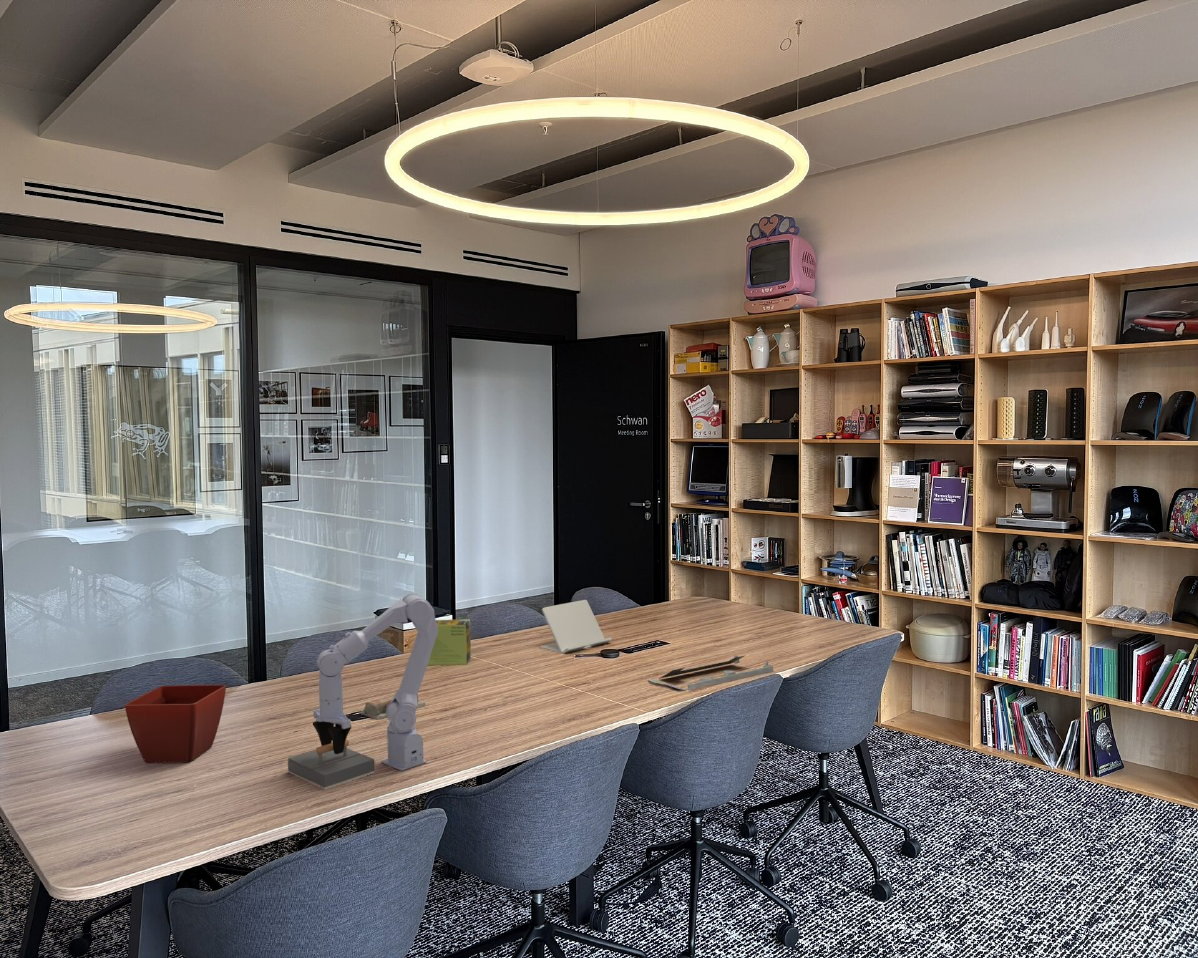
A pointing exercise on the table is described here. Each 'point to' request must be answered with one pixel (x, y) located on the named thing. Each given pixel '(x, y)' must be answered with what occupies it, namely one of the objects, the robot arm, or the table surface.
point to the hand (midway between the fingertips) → (332, 750)
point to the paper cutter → (726, 678)
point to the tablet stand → (573, 627)
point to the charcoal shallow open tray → (335, 771)
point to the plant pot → (176, 721)
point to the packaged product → (381, 707)
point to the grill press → (322, 756)
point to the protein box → (451, 643)
